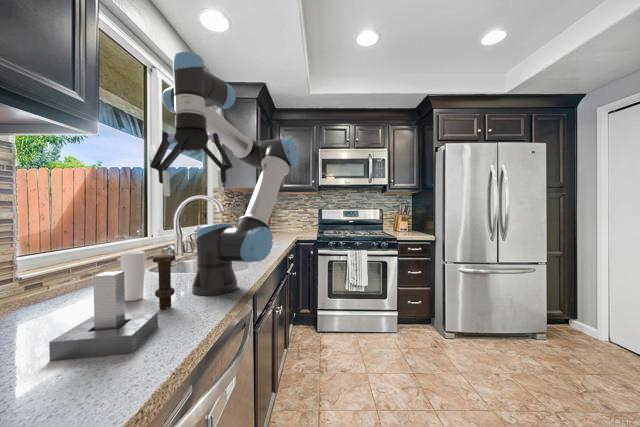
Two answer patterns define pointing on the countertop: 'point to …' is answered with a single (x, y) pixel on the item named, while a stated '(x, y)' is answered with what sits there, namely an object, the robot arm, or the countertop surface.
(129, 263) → the drinking glass
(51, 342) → the socket block
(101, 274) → the peg
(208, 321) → the countertop surface
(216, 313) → the countertop surface
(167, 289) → the bolt
